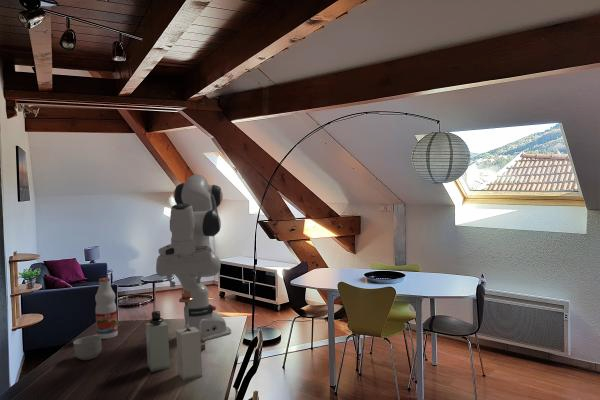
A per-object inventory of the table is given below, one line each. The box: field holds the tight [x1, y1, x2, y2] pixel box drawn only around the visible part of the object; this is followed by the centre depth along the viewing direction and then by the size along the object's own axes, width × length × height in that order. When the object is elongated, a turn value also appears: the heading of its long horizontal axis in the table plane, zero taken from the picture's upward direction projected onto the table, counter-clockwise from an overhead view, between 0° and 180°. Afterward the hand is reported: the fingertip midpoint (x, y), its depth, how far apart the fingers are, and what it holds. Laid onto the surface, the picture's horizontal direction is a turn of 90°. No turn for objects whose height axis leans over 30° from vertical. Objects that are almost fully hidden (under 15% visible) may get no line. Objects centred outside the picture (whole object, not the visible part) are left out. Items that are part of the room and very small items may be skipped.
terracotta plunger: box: [178, 289, 194, 332], centre depth 182 cm, size 5×5×18 cm
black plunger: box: [148, 310, 164, 325], centre depth 192 cm, size 5×5×18 cm
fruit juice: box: [94, 277, 119, 340], centre depth 236 cm, size 9×9×28 cm
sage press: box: [145, 320, 171, 373], centre depth 192 cm, size 7×7×17 cm
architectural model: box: [200, 333, 207, 350], centre depth 209 cm, size 3×7×7 cm, turn 120°
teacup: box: [72, 334, 103, 361], centre depth 208 cm, size 14×11×8 cm
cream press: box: [175, 327, 203, 382], centre depth 182 cm, size 7×7×17 cm
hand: (185, 285), depth 181 cm, fingers open, 8 cm apart
